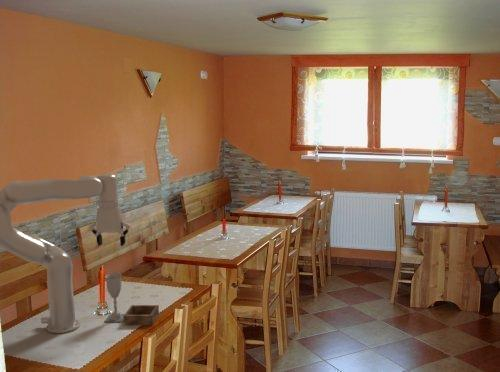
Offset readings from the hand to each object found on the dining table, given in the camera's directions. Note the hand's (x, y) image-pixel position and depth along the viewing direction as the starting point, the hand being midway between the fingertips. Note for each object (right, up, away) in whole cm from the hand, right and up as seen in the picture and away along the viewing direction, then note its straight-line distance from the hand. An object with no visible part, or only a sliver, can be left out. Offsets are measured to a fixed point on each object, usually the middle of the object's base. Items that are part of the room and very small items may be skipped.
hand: (111, 245), depth 234 cm
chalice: (+2, -30, +1) cm, 30 cm away
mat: (+2, -31, +1) cm, 31 cm away
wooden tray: (+13, -31, -1) cm, 33 cm away
